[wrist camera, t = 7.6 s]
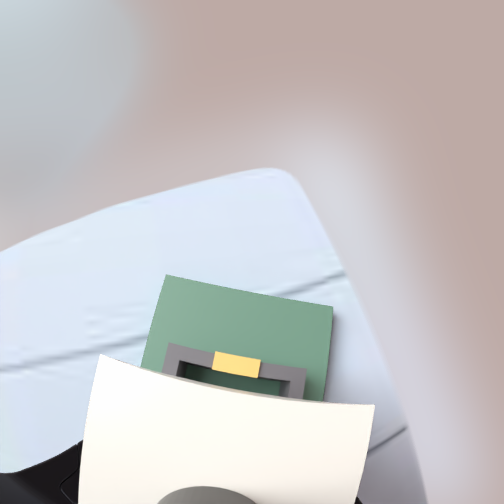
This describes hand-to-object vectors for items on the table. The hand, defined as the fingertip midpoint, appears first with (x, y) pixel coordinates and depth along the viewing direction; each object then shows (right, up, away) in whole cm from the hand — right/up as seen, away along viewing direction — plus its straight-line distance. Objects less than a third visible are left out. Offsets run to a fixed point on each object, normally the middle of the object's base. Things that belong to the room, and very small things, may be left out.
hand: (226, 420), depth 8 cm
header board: (-1, -6, +8) cm, 10 cm away
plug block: (-1, -4, +5) cm, 7 cm away
